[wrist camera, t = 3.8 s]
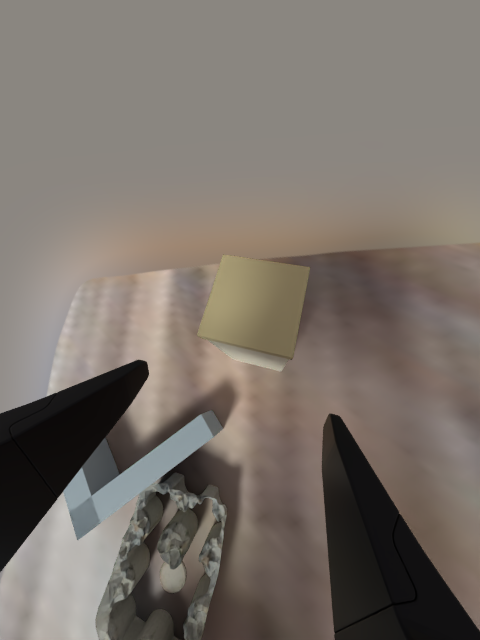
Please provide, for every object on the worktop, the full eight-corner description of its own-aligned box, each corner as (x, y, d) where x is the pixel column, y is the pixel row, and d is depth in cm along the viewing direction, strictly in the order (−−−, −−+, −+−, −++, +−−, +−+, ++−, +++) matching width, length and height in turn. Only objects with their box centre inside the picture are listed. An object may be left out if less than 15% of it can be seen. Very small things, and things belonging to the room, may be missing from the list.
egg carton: (199, 653, 16) (176, 740, 12) (116, 602, 17) (72, 664, 13) (239, 492, 18) (231, 520, 15) (164, 460, 20) (139, 478, 16)
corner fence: (223, 428, 20) (213, 436, 17) (110, 514, 19) (77, 540, 16) (176, 348, 23) (160, 342, 20) (77, 419, 22) (43, 424, 19)
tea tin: (281, 372, 21) (293, 357, 10) (232, 360, 22) (197, 335, 11) (291, 323, 22) (310, 267, 12) (244, 314, 23) (223, 254, 13)
